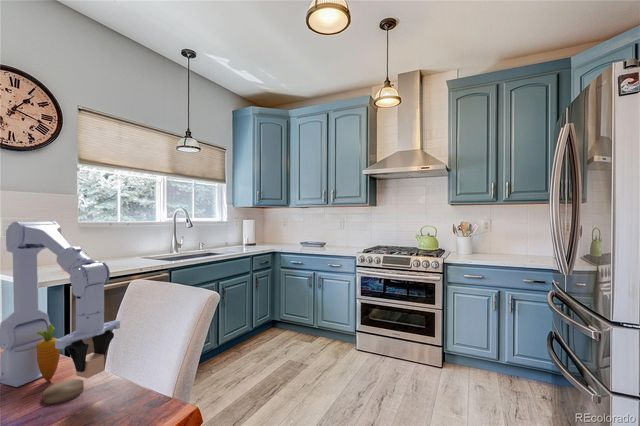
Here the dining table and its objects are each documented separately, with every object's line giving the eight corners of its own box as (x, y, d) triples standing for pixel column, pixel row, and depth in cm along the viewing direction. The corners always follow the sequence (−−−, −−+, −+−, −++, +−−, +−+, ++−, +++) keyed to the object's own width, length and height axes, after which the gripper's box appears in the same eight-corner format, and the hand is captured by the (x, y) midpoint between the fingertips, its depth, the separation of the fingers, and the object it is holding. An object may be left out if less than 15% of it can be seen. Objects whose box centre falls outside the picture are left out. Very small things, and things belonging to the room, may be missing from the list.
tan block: (76, 375, 77) (76, 359, 77) (92, 368, 81) (92, 352, 81) (87, 378, 76) (87, 361, 76) (104, 370, 80) (104, 354, 80)
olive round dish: (35, 401, 78) (35, 392, 78) (70, 384, 85) (70, 377, 85) (56, 407, 75) (56, 398, 75) (91, 389, 82) (91, 381, 82)
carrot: (46, 386, 83) (46, 329, 84) (31, 384, 84) (31, 328, 85) (65, 377, 88) (65, 323, 89) (50, 375, 89) (50, 322, 90)
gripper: (69, 322, 70) (69, 384, 70) (128, 305, 84) (128, 356, 84) (48, 319, 73) (48, 379, 73) (109, 303, 86) (109, 353, 86)
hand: (90, 366), depth 78 cm, fingers closed on tan block, 4 cm apart
